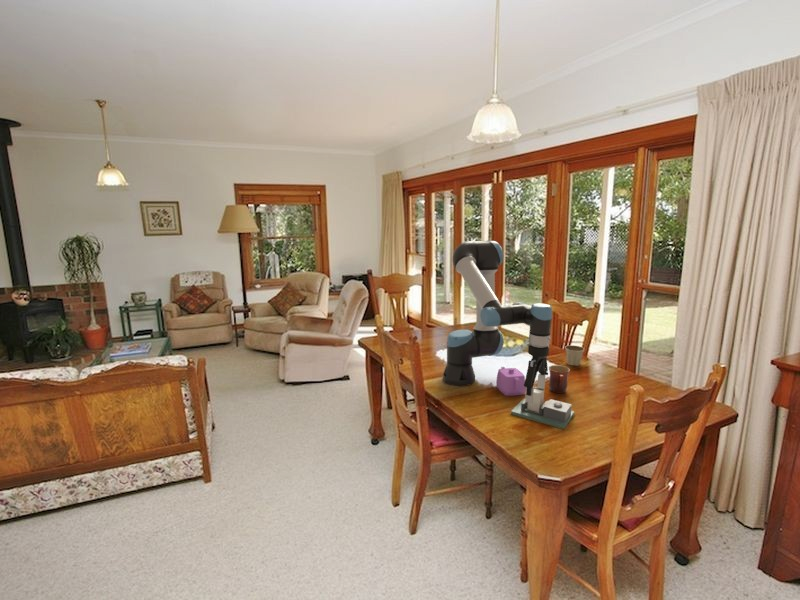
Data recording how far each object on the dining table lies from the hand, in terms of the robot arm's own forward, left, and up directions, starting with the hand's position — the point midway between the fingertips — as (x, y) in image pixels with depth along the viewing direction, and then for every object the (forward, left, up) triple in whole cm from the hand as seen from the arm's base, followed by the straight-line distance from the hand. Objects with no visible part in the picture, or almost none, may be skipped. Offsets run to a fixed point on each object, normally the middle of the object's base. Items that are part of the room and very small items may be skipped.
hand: (535, 396), depth 161 cm
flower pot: (-1, +64, -7) cm, 65 cm away
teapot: (-16, +14, -7) cm, 22 cm away
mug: (+2, +24, -7) cm, 25 cm away
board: (+3, 0, -7) cm, 7 cm away
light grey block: (0, 0, -5) cm, 5 cm away
